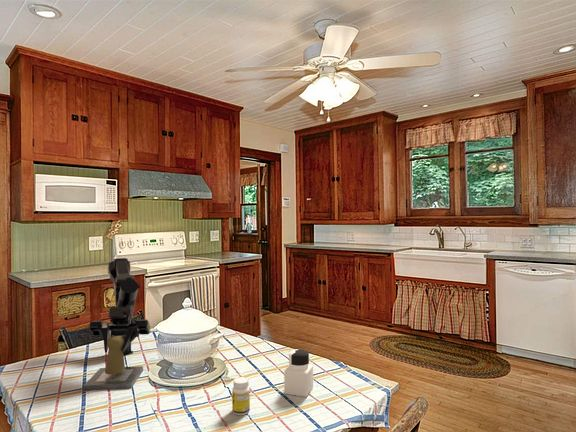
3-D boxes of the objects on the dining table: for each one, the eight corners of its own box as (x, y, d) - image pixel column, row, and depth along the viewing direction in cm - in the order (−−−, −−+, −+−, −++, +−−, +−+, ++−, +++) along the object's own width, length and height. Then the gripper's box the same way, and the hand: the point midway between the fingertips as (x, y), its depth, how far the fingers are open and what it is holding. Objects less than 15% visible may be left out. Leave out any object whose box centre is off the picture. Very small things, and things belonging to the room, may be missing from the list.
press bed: (100, 372, 128) (100, 367, 128) (143, 370, 130) (143, 365, 130) (83, 390, 114) (83, 385, 114) (131, 388, 116) (131, 382, 116)
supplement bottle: (232, 407, 104) (232, 376, 104) (249, 406, 105) (250, 376, 105) (231, 416, 99) (231, 384, 100) (249, 415, 100) (249, 383, 100)
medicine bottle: (313, 387, 117) (313, 348, 117) (306, 397, 110) (306, 356, 110) (291, 384, 119) (291, 346, 119) (283, 394, 112) (284, 353, 113)
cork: (128, 367, 125) (129, 334, 125) (118, 375, 119) (119, 340, 119) (111, 366, 126) (112, 333, 126) (100, 373, 120) (101, 339, 120)
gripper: (90, 296, 125) (75, 340, 114) (148, 295, 128) (139, 338, 117) (99, 314, 133) (86, 357, 122) (153, 313, 136) (145, 355, 124)
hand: (114, 351), depth 121 cm, fingers closed on cork, 5 cm apart
